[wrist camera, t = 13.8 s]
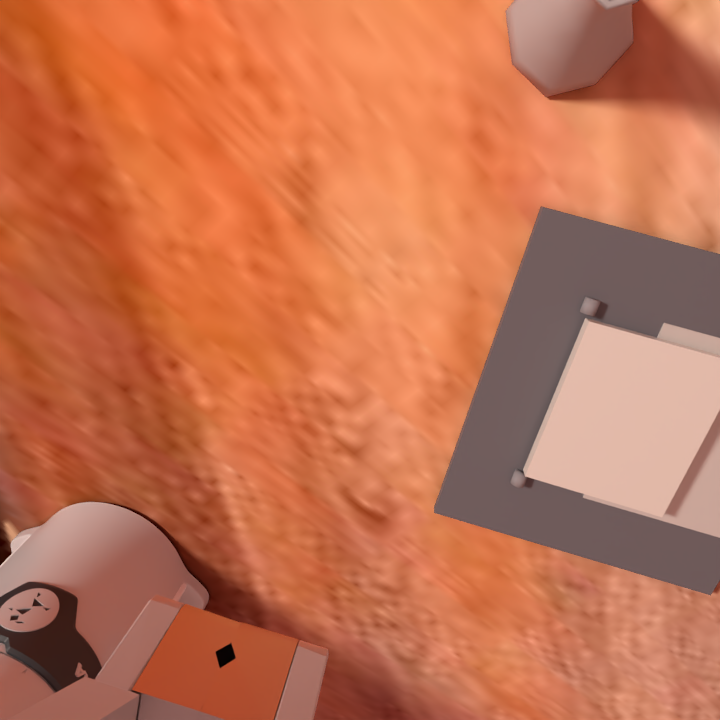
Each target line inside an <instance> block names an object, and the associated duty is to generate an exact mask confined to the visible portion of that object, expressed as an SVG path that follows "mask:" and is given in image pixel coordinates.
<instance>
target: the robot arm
mask: <svg viewBox="0 0 720 720" xmlns="http://www.w3.org/2000/svg"><path fill="white" fill-rule="evenodd" d="M11 550H12V554H11V555H10V556H9V557H8V558H7V559H6V560H5V562H4V563H3V564H2V565H1V566H0V720H314V715H315V711H316V707H317V703H318V698H319V694H320V690H321V685H322V681H323V677H324V672H325V668H326V664H327V659H328V655H329V652H328V649H327V648H324V647H321V646H318V645H314V644H311V643H308V642H305V641H302V640H299V639H296V638H293V637H290V636H286V635H283V634H280V633H276V632H273V631H270V630H266V629H263V628H260V627H256V626H253V625H250V624H246V623H243V622H242V623H240V622H237V621H234V620H231V619H228V618H225V617H222V616H220V615H217V614H214V613H211V612H208V611H205V610H204V609H205V607H206V605H207V603H208V600H209V594H208V592H207V590H206V589H205V587H204V586H203V585H202V584H201V583H200V582H199V581H198V580H197V579H196V578H195V577H193V576H192V575H191V574H190V573H189V572H188V571H187V569H186V568H185V566H184V564H183V562H182V560H181V558H180V556H179V554H178V553H177V551H176V549H175V548H174V546H173V545H172V543H171V542H170V541H169V540H168V538H167V537H166V536H165V535H164V534H163V533H162V532H161V531H160V530H159V529H158V528H157V527H156V526H154V525H153V524H152V523H151V522H149V521H148V520H146V519H145V518H143V517H142V516H140V515H138V514H136V513H134V512H132V511H130V510H128V509H125V508H123V507H120V506H116V505H113V504H108V503H101V502H84V503H78V504H74V505H71V506H68V507H66V508H64V509H62V510H60V511H58V512H57V513H56V514H54V515H53V516H52V517H51V518H50V519H49V520H48V521H47V522H46V523H44V524H43V525H41V526H39V527H34V528H30V529H27V530H24V531H22V532H20V533H19V534H18V535H17V536H16V537H15V538H14V539H13V540H12V542H11ZM298 640H299V643H298ZM297 644H298V646H297ZM296 648H297V649H296ZM294 655H295V656H294Z"/></svg>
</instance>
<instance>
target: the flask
mask: <svg viewBox="0 0 720 720" xmlns="http://www.w3.org/2000/svg"><path fill="white" fill-rule="evenodd" d="M638 1H639V0H514V1H513V3H512V4H511V5H510V6H509V8H508V9H507V10H506V19H507V27H508V35H509V43H510V51H511V59H512V64H513V65H514V66H515V67H516V68H517V69H518V70H519V71H520V72H521V73H522V74H523V75H524V76H525V77H526V78H527V79H528V80H529V81H530V82H531V83H532V84H533V85H534V86H535V87H536V88H537V89H538V90H539V91H540V92H541V93H542V94H543V95H544V96H545V97H548V96H552V95H556V94H560V93H564V92H568V91H572V90H576V89H580V88H584V87H588V86H592V85H595V84H596V83H597V82H598V81H599V80H600V79H601V78H602V77H603V75H604V74H605V73H606V72H607V71H608V70H609V69H610V68H611V67H612V66H613V65H614V63H615V62H616V61H617V60H618V59H619V58H620V57H621V56H622V55H623V54H624V53H625V51H626V50H627V49H628V48H629V47H630V46H631V45H632V44H633V23H632V4H634V3H637V2H638Z"/></svg>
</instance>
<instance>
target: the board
mask: <svg viewBox="0 0 720 720" xmlns="http://www.w3.org/2000/svg"><path fill="white" fill-rule="evenodd" d="M585 318H588V319H592V320H595V321H599V322H602V323H606V324H610V325H613V326H617V327H620V328H624V329H628V330H631V331H635V332H638V333H642V334H646V335H649V336H653V337H656V338H660V339H663V340H667V341H671V342H674V343H678V344H681V345H685V346H689V347H692V348H696V349H699V350H703V351H707V352H710V353H714V354H717V355H720V254H717V253H713V252H709V251H705V250H702V249H698V248H694V247H690V246H687V245H683V244H679V243H675V242H672V241H668V240H664V239H661V238H657V237H653V236H649V235H646V234H642V233H638V232H634V231H631V230H627V229H623V228H619V227H616V226H612V225H608V224H604V223H601V222H597V221H593V220H589V219H586V218H582V217H578V216H574V215H571V214H567V213H563V212H560V211H556V210H552V209H548V208H545V207H541V208H540V211H539V214H538V216H537V219H536V222H535V225H534V228H533V231H532V233H531V236H530V239H529V242H528V245H527V247H526V250H525V253H524V256H523V259H522V261H521V264H520V267H519V270H518V273H517V276H516V278H515V281H514V284H513V287H512V290H511V292H510V295H509V298H508V301H507V304H506V307H505V309H504V312H503V315H502V318H501V321H500V323H499V326H498V329H497V332H496V335H495V338H494V340H493V343H492V346H491V349H490V352H489V354H488V357H487V360H486V363H485V366H484V369H483V371H482V374H481V377H480V380H479V383H478V385H477V388H476V391H475V394H474V397H473V400H472V402H471V405H470V408H469V411H468V414H467V416H466V419H465V422H464V425H463V428H462V431H461V433H460V436H459V439H458V442H457V445H456V447H455V450H454V453H453V456H452V459H451V462H450V464H449V467H448V470H447V473H446V476H445V478H444V481H443V484H442V487H441V490H440V493H439V495H438V498H437V501H436V504H435V507H434V513H437V514H440V515H444V516H447V517H450V518H454V519H457V520H460V521H464V522H467V523H470V524H474V525H477V526H480V527H484V528H487V529H490V530H494V531H497V532H500V533H504V534H507V535H511V536H514V537H517V538H521V539H524V540H527V541H531V542H534V543H537V544H541V545H544V546H547V547H551V548H554V549H557V550H561V551H564V552H567V553H571V554H574V555H578V556H581V557H584V558H588V559H591V560H594V561H598V562H601V563H604V564H608V565H611V566H614V567H618V568H621V569H624V570H628V571H631V572H634V573H638V574H641V575H645V576H648V577H651V578H655V579H658V580H661V581H665V582H668V583H671V584H675V585H678V586H681V587H685V588H688V589H691V590H695V591H698V592H702V593H705V594H708V595H711V594H712V592H713V591H714V589H715V587H716V586H717V584H718V582H719V581H720V410H719V412H718V414H717V416H716V418H715V420H714V422H713V423H712V425H711V427H710V429H709V431H708V433H707V435H706V437H705V438H704V440H703V442H702V444H701V446H700V448H699V450H698V452H697V453H696V455H695V457H694V459H693V461H692V463H691V465H690V466H689V468H688V470H687V472H686V474H685V476H684V478H683V480H682V481H681V483H680V485H679V487H678V489H677V491H676V493H675V495H674V496H673V498H672V500H671V502H670V504H669V506H668V508H667V510H666V511H665V513H664V515H663V517H659V516H656V515H652V514H649V513H646V512H642V511H639V510H636V509H632V508H629V507H626V506H622V505H619V504H616V503H612V502H609V501H606V500H602V499H599V498H596V497H592V496H589V495H586V494H582V493H579V492H576V491H572V490H569V489H566V488H562V487H559V486H555V485H552V484H549V483H545V482H542V481H539V480H535V479H532V478H529V477H525V475H524V471H523V468H524V466H525V464H526V461H527V459H528V456H529V454H530V451H531V449H532V446H533V444H534V442H535V439H536V437H537V434H538V432H539V429H540V427H541V425H542V422H543V420H544V417H545V415H546V412H547V410H548V408H549V405H550V403H551V400H552V398H553V395H554V393H555V391H556V388H557V386H558V383H559V381H560V378H561V376H562V374H563V371H564V369H565V366H566V364H567V361H568V359H569V357H570V354H571V352H572V349H573V347H574V344H575V342H576V340H577V337H578V335H579V332H580V330H581V327H582V325H583V322H584V320H585Z"/></svg>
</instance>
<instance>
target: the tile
mask: <svg viewBox="0 0 720 720" xmlns="http://www.w3.org/2000/svg"><path fill="white" fill-rule="evenodd" d="M719 410H720V355H717V354H714V353H710V352H707V351H703V350H699V349H696V348H692V347H689V346H685V345H681V344H678V343H674V342H671V341H667V340H663V339H660V338H656V337H653V336H649V335H646V334H642V333H638V332H635V331H631V330H628V329H624V328H620V327H617V326H613V325H610V324H606V323H602V322H599V321H595V320H592V319H588V318H585V320H584V322H583V325H582V327H581V330H580V332H579V335H578V337H577V340H576V342H575V344H574V347H573V349H572V352H571V354H570V357H569V359H568V361H567V364H566V366H565V369H564V371H563V374H562V376H561V378H560V381H559V383H558V386H557V388H556V391H555V393H554V395H553V398H552V400H551V403H550V405H549V408H548V410H547V412H546V415H545V417H544V420H543V422H542V425H541V427H540V429H539V432H538V434H537V437H536V439H535V442H534V444H533V446H532V449H531V451H530V454H529V456H528V459H527V461H526V464H525V466H524V468H523V471H524V475H525V477H529V478H532V479H535V480H539V481H542V482H545V483H549V484H552V485H555V486H559V487H562V488H566V489H569V490H572V491H576V492H579V493H582V494H586V495H589V496H592V497H596V498H599V499H602V500H606V501H609V502H612V503H616V504H619V505H622V506H626V507H629V508H632V509H636V510H639V511H642V512H646V513H649V514H652V515H656V516H659V517H663V515H664V513H665V511H666V510H667V508H668V506H669V504H670V502H671V500H672V498H673V496H674V495H675V493H676V491H677V489H678V487H679V485H680V483H681V481H682V480H683V478H684V476H685V474H686V472H687V470H688V468H689V466H690V465H691V463H692V461H693V459H694V457H695V455H696V453H697V452H698V450H699V448H700V446H701V444H702V442H703V440H704V438H705V437H706V435H707V433H708V431H709V429H710V427H711V425H712V423H713V422H714V420H715V418H716V416H717V414H718V412H719Z"/></svg>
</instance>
